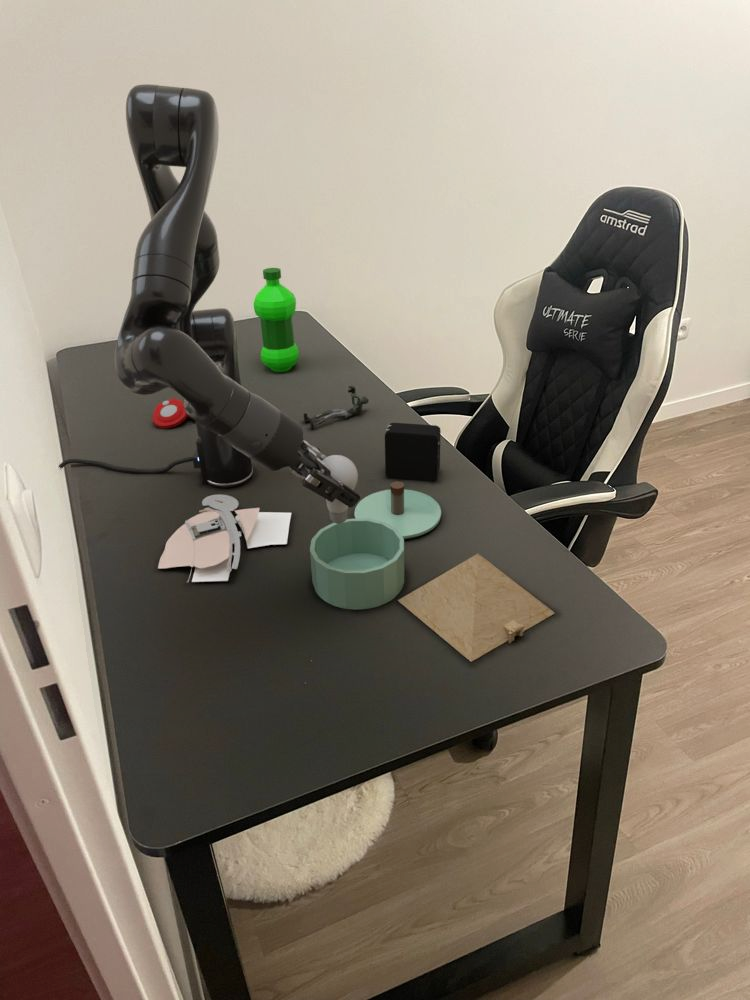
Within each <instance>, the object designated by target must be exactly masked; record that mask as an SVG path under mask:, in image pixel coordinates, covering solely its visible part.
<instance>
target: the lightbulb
mask: <svg viewBox="0 0 750 1000" xmlns="http://www.w3.org/2000/svg"><path fill="white" fill-rule="evenodd" d="M322 462H324V463H325V464H326V465H327V466H328V467H330V468H331V470H332V471H331V474H332V475H334V476H335V477H336V478H337V479H338V480H340V481H342V483H343V484H345V485H346V486H348V487H349V488H351V489H352V490H354V489H356V486H357V484H358V480H359V473H358V470H357V466H356V465H355V463H354V462H353V461H352V460H351V459H350V458H348V457H346V456H344V455H341V454H331V455H329V456H326V458H324V459H323V460H322ZM320 472H321V473H322V474H323V473H324V470H323V469H321V471H320ZM330 487H331V486H330ZM330 487H329V488H330ZM329 488H328V489H329ZM354 491H355V490H354ZM325 502H326V507H327V510H328V514H329V520H330V521H331V522H332V523H337V524H341V523H343V522H345V521H346V520H347V519H348V509H349V507H348V506H347V505H345V504H344V503H342V502H340V501H339V500H337V499H335V500H334V501H333V502H330V501H328V500H327V499H325Z"/></svg>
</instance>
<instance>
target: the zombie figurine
mask: <svg viewBox="0 0 750 1000" xmlns="http://www.w3.org/2000/svg"><path fill="white" fill-rule="evenodd" d="M347 388H348V390H347V392H348V394H350V397H351V404H352V405H353V407H351V408H349V409H348V410H347V409H343V408H337V409H332V410H329V409H328V410H326V411H324V412H321V413H320V414H318V415H313V417H309V416H308V413H303V419H304V420H303V422H304V423H305V424H308V423H309V428H310V430H311V431H312V430H313V429H314V428H315V427H317V426H319V425H322V424H324V423H326V422H327V421H329V420H330V419H331V418H333V417H341V418H342V419H348V418H350V417H353V416H356V415H359V414H360V413H362V412H363V405H367V404H369V400H370V399H368V397H367V396H361V397H360V396H359V395H358V394H357V393H356V386H355V385H352V384H350V385H348V386H347ZM355 399H356V402H355ZM320 418H322V419H321V420H319V421H318V422H316V423H314V422H313V420H318V419H320Z"/></svg>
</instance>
